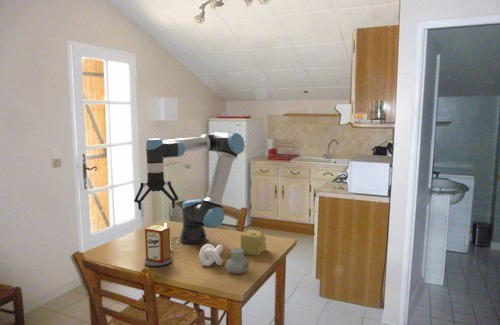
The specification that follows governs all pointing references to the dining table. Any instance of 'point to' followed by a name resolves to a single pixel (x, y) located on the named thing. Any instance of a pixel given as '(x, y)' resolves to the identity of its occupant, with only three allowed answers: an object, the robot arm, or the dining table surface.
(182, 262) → the dining table surface
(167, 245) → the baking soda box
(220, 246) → the white knot sculpture
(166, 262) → the plate
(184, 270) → the dining table surface
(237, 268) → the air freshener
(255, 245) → the cheese
